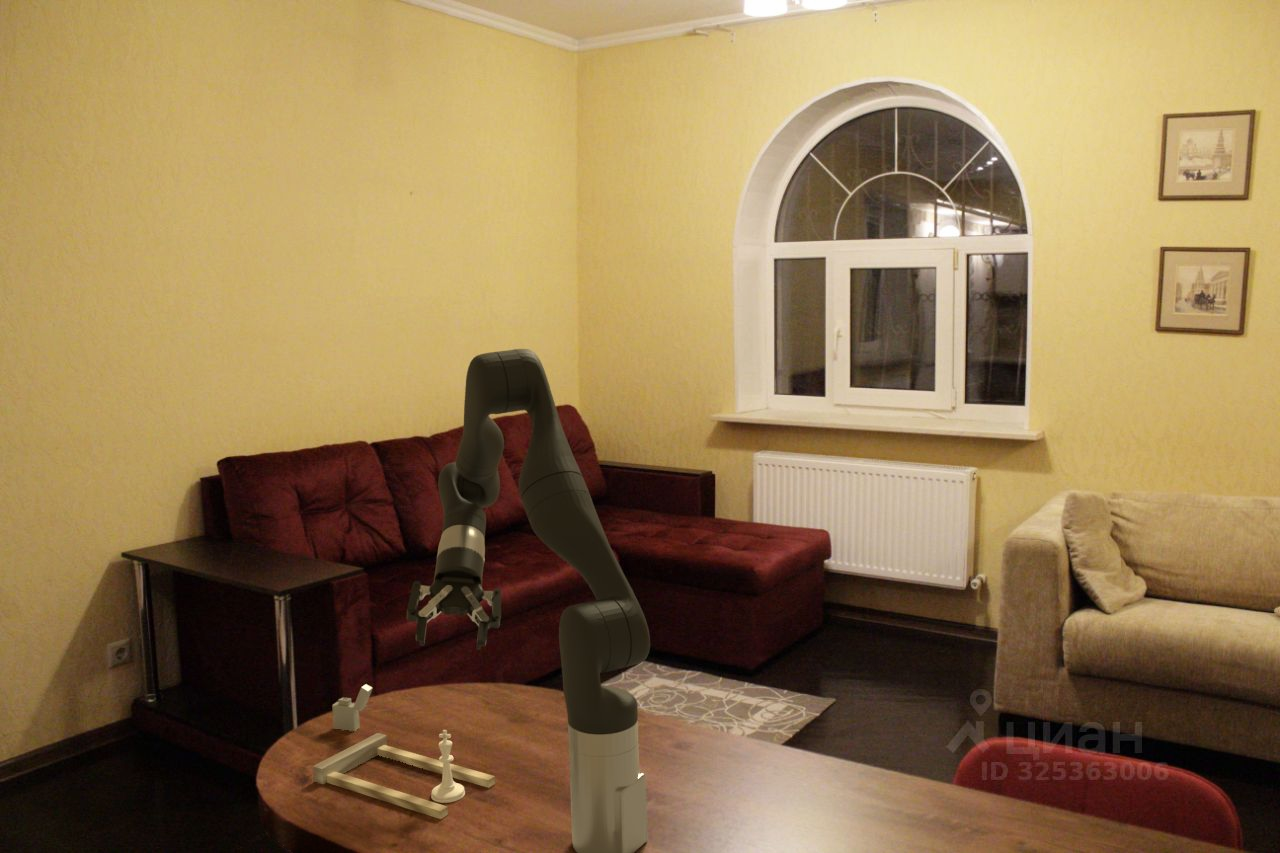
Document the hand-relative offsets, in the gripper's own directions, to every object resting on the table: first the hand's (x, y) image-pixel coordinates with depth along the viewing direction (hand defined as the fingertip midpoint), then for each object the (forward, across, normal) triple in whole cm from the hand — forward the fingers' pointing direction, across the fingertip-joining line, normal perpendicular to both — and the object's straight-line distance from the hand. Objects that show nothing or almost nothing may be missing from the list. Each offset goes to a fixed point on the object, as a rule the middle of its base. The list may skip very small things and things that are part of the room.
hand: (450, 644), depth 158 cm
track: (+14, -4, +17) cm, 22 cm away
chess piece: (+17, +2, +13) cm, 22 cm away
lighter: (-3, -15, +31) cm, 35 cm away
